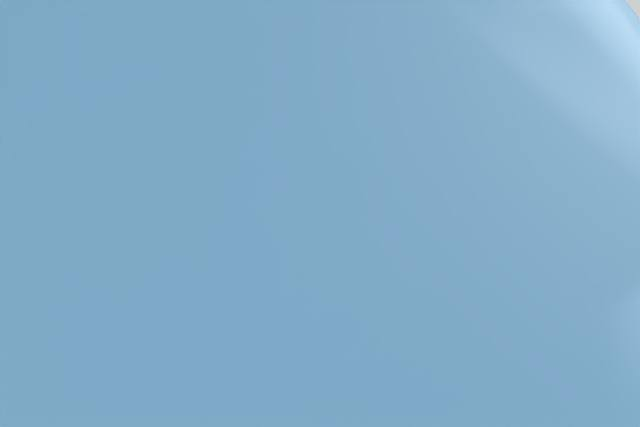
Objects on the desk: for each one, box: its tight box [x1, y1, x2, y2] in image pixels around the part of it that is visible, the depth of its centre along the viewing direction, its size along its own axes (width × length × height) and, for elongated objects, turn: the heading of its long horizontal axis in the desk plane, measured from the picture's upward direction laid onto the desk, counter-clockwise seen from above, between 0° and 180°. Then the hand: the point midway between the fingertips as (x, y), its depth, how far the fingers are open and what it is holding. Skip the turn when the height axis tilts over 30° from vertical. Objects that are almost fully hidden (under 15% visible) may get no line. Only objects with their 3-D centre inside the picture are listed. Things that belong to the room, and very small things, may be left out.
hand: (234, 266), depth 41 cm, fingers closed on slate block, 5 cm apart
